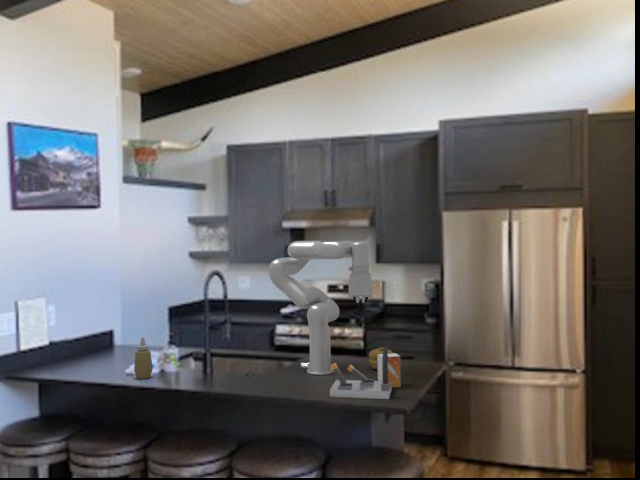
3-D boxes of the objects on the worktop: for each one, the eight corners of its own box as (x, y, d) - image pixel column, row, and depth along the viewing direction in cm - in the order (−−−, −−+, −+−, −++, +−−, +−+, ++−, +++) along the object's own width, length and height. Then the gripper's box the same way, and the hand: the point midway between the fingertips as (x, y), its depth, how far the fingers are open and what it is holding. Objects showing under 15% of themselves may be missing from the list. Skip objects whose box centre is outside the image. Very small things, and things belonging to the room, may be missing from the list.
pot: (366, 371, 301) (366, 349, 300) (371, 365, 312) (370, 344, 312) (392, 372, 298) (392, 350, 298) (395, 366, 309) (395, 345, 309)
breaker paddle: (364, 383, 263) (347, 369, 264) (365, 381, 266) (348, 367, 267) (367, 380, 263) (349, 365, 264) (368, 378, 266) (350, 364, 267)
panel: (330, 397, 257) (329, 386, 257) (336, 387, 272) (336, 377, 272) (389, 399, 252) (388, 388, 252) (392, 388, 268) (391, 378, 268)
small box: (382, 388, 269) (381, 356, 269) (377, 384, 275) (377, 353, 275) (401, 387, 271) (400, 355, 270) (395, 383, 277) (395, 352, 277)
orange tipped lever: (342, 386, 258) (330, 366, 258) (343, 384, 261) (331, 364, 261) (345, 384, 257) (334, 364, 258) (347, 382, 260) (335, 362, 261)
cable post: (381, 390, 254) (380, 348, 254) (382, 388, 257) (381, 346, 257) (389, 390, 254) (388, 348, 253) (389, 388, 257) (389, 346, 257)
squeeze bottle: (156, 376, 296) (155, 337, 296) (144, 380, 289) (143, 339, 289) (142, 375, 300) (141, 335, 299) (130, 379, 292) (129, 338, 292)
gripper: (342, 270, 285) (342, 312, 285) (376, 270, 282) (377, 313, 283) (344, 269, 292) (345, 310, 293) (378, 269, 290) (378, 310, 290)
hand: (360, 311), depth 288 cm, fingers closed
